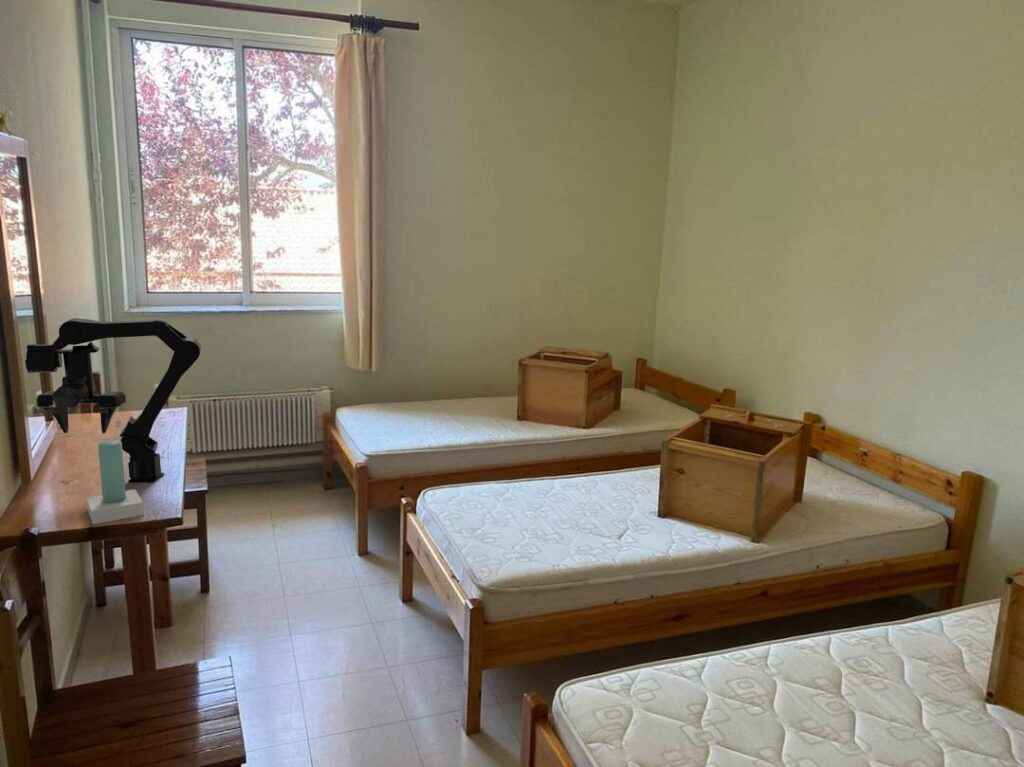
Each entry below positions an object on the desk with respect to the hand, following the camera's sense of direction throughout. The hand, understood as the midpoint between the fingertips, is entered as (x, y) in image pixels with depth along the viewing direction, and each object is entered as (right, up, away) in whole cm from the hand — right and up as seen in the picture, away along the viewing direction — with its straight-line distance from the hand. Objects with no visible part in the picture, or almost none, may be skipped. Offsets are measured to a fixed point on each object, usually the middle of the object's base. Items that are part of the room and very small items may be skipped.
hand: (85, 433), depth 180 cm
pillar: (+16, -14, -16) cm, 27 cm away
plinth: (+16, -17, -16) cm, 28 cm away
